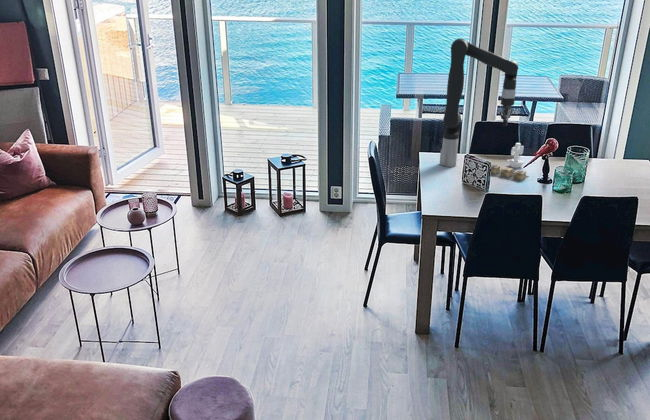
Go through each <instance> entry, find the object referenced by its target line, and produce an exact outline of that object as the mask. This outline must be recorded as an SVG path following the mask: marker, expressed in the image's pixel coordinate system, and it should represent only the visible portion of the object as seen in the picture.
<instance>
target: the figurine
mask: <svg viewBox="0 0 650 420" xmlns="http://www.w3.org/2000/svg"><path fill="white" fill-rule="evenodd" d="M524 148H525V146H524V145H522V144H521V143H520V142H516V143H515V145H514V146H513V147H511V150H510V155H511V156H513V158H512V159H507V163H508V164H509V166H510V167H511V168H513V169H514V168H515V169H517V168H521V167H522V166H523V165H524V163H525V162H524V161H522V160H521V159H520V156H521V155H523V153H524Z"/></svg>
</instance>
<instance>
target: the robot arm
mask: <svg viewBox="0 0 650 420" xmlns="http://www.w3.org/2000/svg"><path fill="white" fill-rule="evenodd" d="M466 56H467V57H471V58H473V59H476V60H477V61H479V62H480V63H482V64H484V65H487V66H489V67H492V68H494V69H497V70H499V71H501V72H503V73H504V79H503V84H502V85H503V86H502V91H501V95H500V97H501V99H500V105H502V107H501V111H499V116H500V118H501V120H502V127H507V126H508V121H509V119H510V118H511V115H512V113H513V111H514V109H513V108H512V106H514V105H515V100H516V99H515V97H516V90H517V89H516V88H517V77H518V76H517V75H518V72H519V71H518V70H519V64H518V62H517V61H515V60H508V59H506V58H504V57H503V56H501V55H498V54H495V53H493V52H491V51H489V50H485V49H483V48H481V47H478V46H476V45H474V44H472V43H470V42H469V41H467V40H466V39H464V38H456V39H455V40H453V42H452V43H451V45H450V66H449V67H450V68H449V72H448V78H447V85H446V86H447V87H446V105H445V106H446V107H445V110H444V116H443V120H442V121H443V125H444V129H443V130H444V131H443V134H442V135H443V136H442V145H441V147H442V148H441V149H440V155H439V165H441V166H443V167H445V168H446V167H447V168H453V167H456V166H457V161H458V159H457V158H458V147H459V139H460V138H459V137H460V132H461V126H462V125H461V124H462V117H461V113H460V112H459V107H460V106H459V105H460V102H461V99H462V95H463V92H464V84H465V71H464V70H465V69H464V68H465V67H464V66H465V65H464V64H465V58H466Z"/></svg>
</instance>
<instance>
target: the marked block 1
mask: <svg viewBox="0 0 650 420" xmlns="http://www.w3.org/2000/svg"><path fill="white" fill-rule="evenodd" d="M490 165H491V173H493V174H497V173H499V172H500V170H501V165H499V164H495V163H491V164H490Z"/></svg>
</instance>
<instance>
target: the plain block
mask: <svg viewBox="0 0 650 420" xmlns="http://www.w3.org/2000/svg"><path fill="white" fill-rule="evenodd" d="M500 170H501V176H505V177H510V176H511V175H512V173H514V172H513V171H514V167H508V166H504V167H502V168H500Z"/></svg>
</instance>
